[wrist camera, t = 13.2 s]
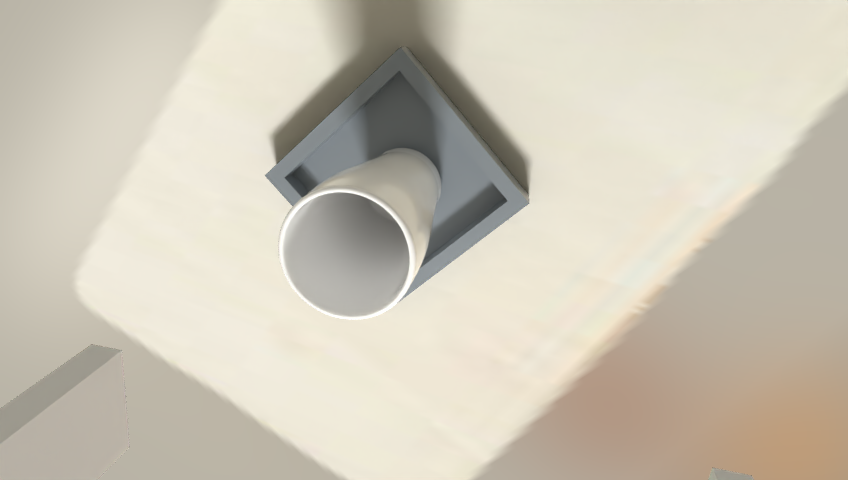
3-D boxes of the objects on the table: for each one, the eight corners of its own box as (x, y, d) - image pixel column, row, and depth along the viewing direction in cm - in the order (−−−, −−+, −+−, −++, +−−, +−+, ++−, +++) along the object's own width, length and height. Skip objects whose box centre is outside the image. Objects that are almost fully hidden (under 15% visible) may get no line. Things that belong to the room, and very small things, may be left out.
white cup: (339, 177, 41) (246, 245, 27) (408, 114, 39) (346, 153, 25) (402, 247, 42) (343, 347, 28) (472, 190, 40) (447, 268, 26)
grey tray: (406, 47, 38) (400, 47, 36) (528, 195, 40) (529, 203, 38) (277, 169, 43) (264, 175, 41) (393, 298, 44) (387, 310, 42)
